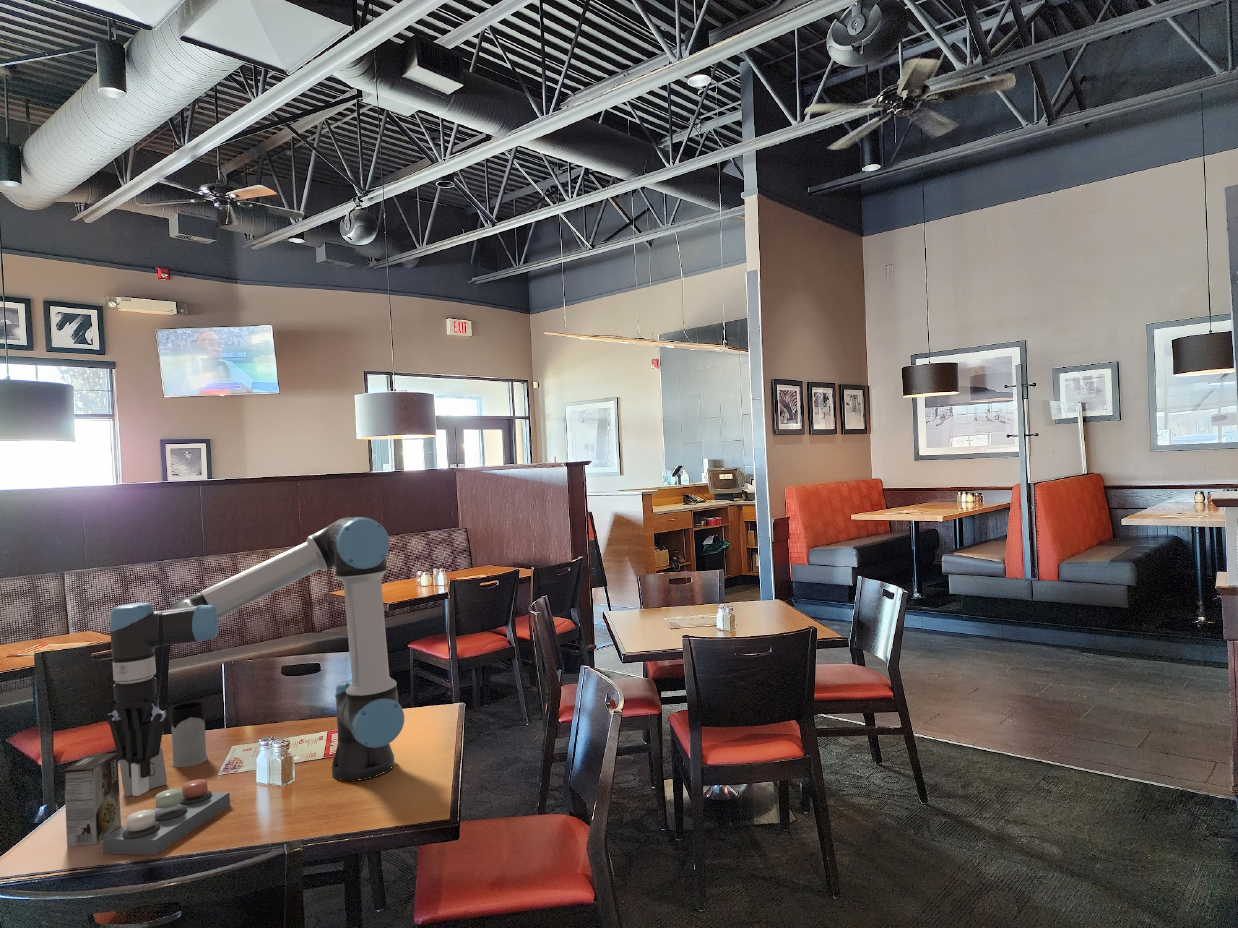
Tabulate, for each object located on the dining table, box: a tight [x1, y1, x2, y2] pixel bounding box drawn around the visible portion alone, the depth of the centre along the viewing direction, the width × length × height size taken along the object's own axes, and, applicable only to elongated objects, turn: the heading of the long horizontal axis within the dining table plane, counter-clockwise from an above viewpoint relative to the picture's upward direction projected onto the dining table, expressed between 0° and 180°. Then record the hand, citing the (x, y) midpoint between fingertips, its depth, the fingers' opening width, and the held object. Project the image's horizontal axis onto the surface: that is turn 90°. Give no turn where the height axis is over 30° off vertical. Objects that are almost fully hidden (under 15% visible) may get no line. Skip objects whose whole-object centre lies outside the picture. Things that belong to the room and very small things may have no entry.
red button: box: [181, 778, 209, 798], centre depth 174 cm, size 5×5×2 cm
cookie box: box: [63, 752, 122, 847], centre depth 164 cm, size 9×6×16 cm
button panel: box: [101, 790, 231, 856], centre depth 166 cm, size 12×23×4 cm, turn 172°
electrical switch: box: [119, 747, 168, 797], centre depth 190 cm, size 9×5×9 cm, turn 141°
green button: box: [155, 788, 183, 809], centre depth 166 cm, size 5×5×2 cm
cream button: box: [126, 809, 155, 831], centre depth 158 cm, size 5×5×2 cm
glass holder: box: [170, 701, 209, 769], centre depth 210 cm, size 9×14×15 cm, turn 39°
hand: (140, 792), depth 158 cm, fingers closed
